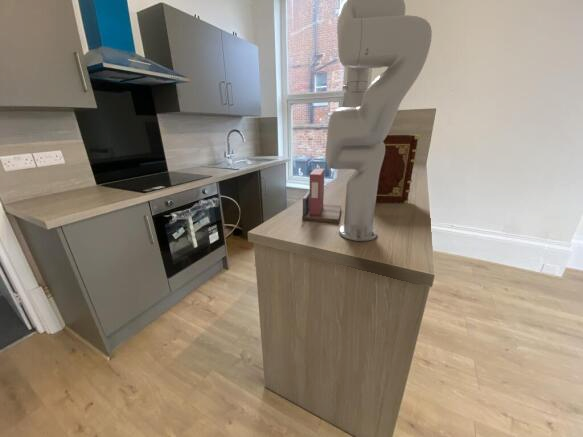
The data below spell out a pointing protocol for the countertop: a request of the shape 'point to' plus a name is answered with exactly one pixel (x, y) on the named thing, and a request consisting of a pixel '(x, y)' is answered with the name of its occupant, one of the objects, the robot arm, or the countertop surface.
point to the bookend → (306, 203)
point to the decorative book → (397, 169)
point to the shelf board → (325, 215)
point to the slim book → (316, 191)
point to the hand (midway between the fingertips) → (353, 136)
